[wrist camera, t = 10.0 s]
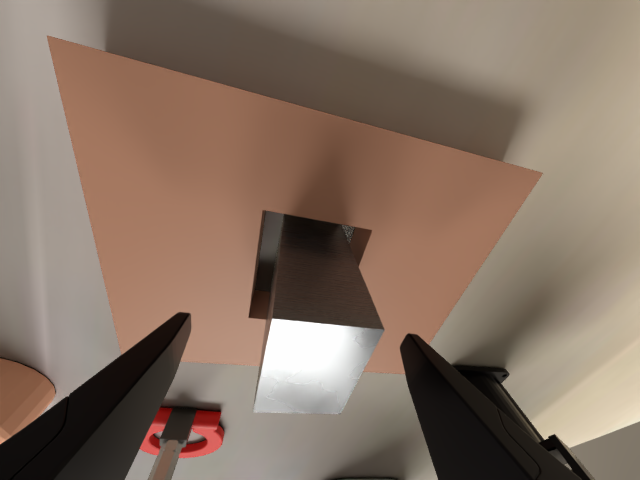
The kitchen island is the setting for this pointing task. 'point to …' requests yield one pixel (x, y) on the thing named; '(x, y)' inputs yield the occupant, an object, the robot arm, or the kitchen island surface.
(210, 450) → the tow hook
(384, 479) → the plastic bottle
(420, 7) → the kitchen island surface
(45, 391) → the pepper shaker
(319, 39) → the kitchen island surface
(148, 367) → the robot arm
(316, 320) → the dark gray brick
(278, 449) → the kitchen island surface
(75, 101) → the tan flat board
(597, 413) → the kitchen island surface
